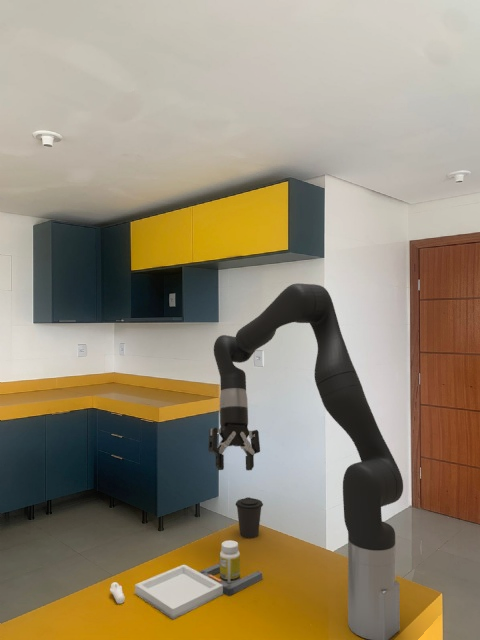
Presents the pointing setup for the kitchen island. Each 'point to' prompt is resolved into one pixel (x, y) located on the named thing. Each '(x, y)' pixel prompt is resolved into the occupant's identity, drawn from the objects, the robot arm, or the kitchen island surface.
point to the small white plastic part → (117, 592)
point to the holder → (236, 585)
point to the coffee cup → (249, 516)
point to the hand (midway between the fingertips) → (235, 470)
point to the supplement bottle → (229, 562)
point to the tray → (178, 591)
